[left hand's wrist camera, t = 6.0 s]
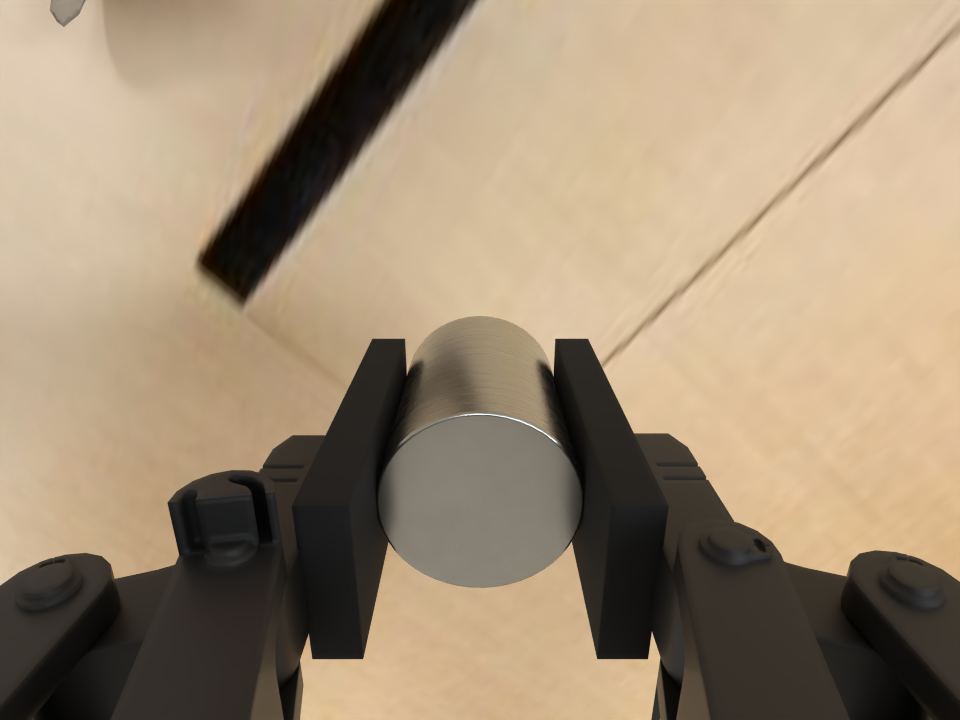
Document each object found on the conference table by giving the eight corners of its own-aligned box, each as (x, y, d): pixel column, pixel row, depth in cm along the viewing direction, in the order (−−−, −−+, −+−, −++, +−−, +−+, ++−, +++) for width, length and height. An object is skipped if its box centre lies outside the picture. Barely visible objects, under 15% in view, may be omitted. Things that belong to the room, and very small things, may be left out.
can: (377, 374, 15) (331, 493, 10) (490, 285, 14) (497, 370, 9) (469, 471, 16) (465, 619, 11) (580, 394, 15) (626, 519, 10)
